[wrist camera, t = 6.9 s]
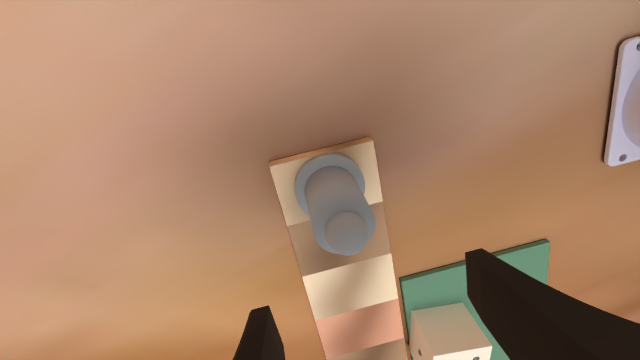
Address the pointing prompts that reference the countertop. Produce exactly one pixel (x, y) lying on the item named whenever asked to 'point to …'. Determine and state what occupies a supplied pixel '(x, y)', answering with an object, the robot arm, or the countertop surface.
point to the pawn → (335, 203)
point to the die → (447, 334)
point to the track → (346, 268)
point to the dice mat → (452, 285)
